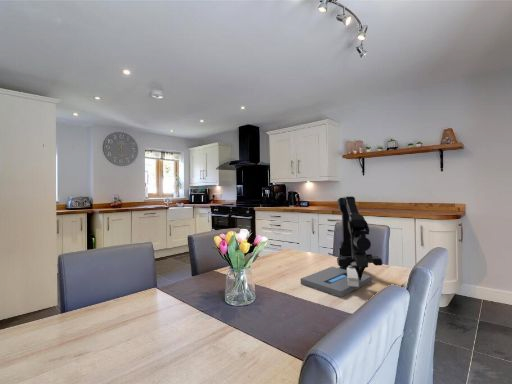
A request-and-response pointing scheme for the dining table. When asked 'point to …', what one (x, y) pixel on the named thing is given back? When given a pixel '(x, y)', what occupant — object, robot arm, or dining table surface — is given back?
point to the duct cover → (352, 277)
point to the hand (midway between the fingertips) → (359, 279)
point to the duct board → (336, 288)
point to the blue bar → (336, 279)
